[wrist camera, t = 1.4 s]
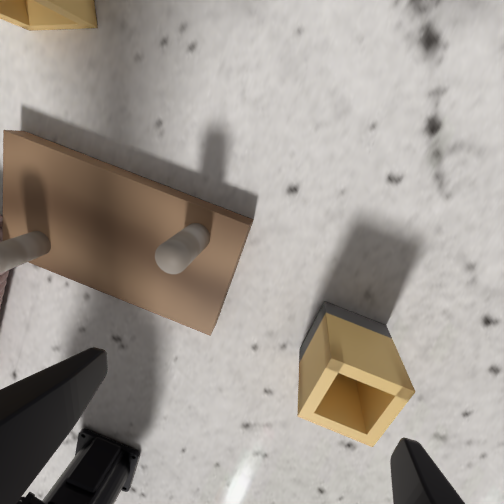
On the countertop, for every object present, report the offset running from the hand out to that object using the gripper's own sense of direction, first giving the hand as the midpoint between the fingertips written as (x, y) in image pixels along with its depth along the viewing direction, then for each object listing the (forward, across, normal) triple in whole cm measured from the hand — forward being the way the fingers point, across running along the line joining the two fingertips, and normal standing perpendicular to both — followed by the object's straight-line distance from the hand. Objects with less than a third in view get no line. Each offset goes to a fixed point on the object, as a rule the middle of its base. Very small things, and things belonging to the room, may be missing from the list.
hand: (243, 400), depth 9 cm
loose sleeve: (+12, -6, +6) cm, 15 cm away
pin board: (+12, +12, +2) cm, 17 cm away
